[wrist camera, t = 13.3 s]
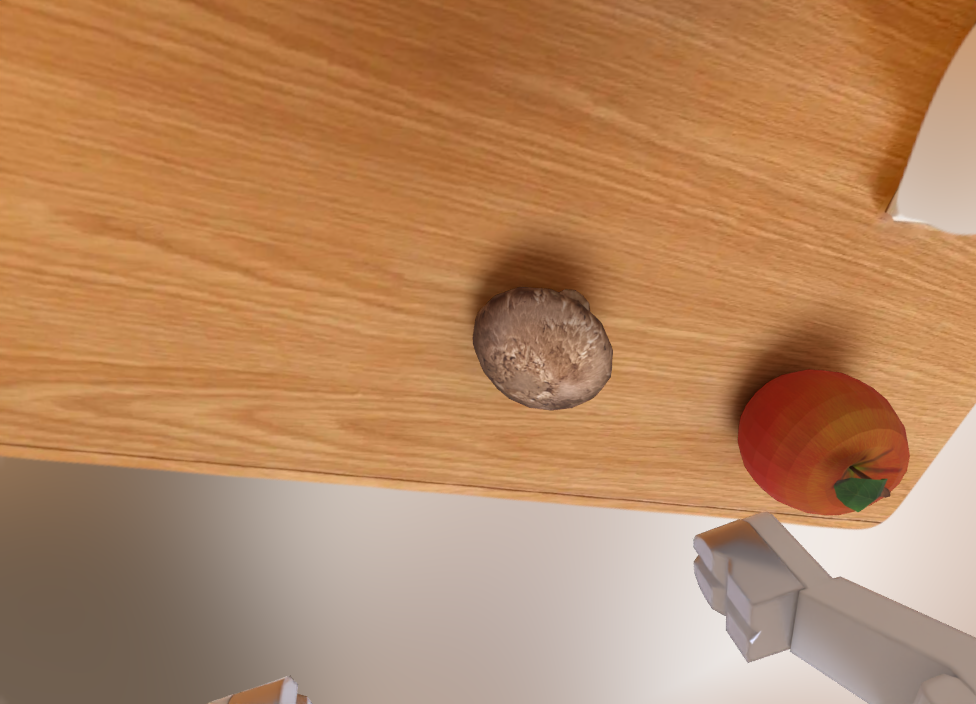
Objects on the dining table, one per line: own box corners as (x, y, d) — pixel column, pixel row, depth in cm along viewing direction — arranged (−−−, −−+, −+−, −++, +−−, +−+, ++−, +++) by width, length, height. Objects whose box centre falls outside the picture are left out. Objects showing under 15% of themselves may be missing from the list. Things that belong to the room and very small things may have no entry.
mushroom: (639, 269, 27) (619, 357, 24) (611, 364, 34) (591, 445, 30) (495, 238, 29) (454, 314, 25) (493, 333, 35) (460, 406, 31)
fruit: (788, 466, 42) (897, 568, 33) (692, 448, 39) (785, 554, 30) (859, 364, 38) (1003, 448, 30) (760, 335, 35) (887, 420, 27)
